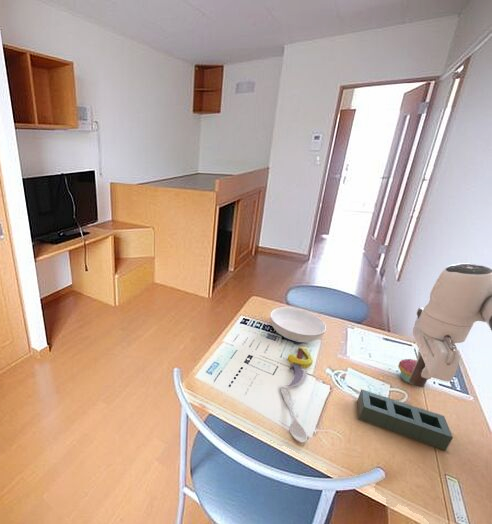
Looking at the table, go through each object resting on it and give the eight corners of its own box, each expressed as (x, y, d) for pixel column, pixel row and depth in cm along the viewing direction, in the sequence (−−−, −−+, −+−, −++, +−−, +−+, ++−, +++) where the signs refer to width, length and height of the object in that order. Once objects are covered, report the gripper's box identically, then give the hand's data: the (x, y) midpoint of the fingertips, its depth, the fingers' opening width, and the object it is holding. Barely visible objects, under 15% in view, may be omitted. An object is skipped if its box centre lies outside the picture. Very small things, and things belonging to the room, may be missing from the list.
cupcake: (398, 367, 109) (409, 340, 105) (429, 381, 103) (442, 352, 99) (391, 378, 104) (403, 350, 100) (423, 393, 98) (437, 364, 94)
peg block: (437, 428, 86) (444, 415, 84) (445, 450, 80) (453, 437, 78) (356, 401, 95) (361, 389, 93) (358, 419, 89) (363, 406, 87)
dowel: (422, 381, 82) (436, 351, 78) (425, 389, 79) (440, 358, 76) (407, 376, 83) (420, 347, 80) (410, 384, 81) (423, 354, 77)
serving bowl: (327, 354, 116) (332, 339, 113) (269, 343, 122) (272, 328, 119) (316, 324, 134) (320, 311, 131) (266, 316, 140) (268, 303, 137)
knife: (304, 397, 96) (313, 354, 115) (306, 391, 95) (315, 348, 114) (278, 386, 100) (291, 346, 119) (279, 380, 99) (292, 341, 118)
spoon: (292, 445, 81) (294, 440, 81) (276, 387, 100) (277, 383, 99) (309, 448, 80) (310, 443, 80) (289, 389, 99) (290, 385, 99)
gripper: (476, 355, 65) (451, 403, 70) (446, 311, 81) (427, 353, 86) (438, 345, 68) (416, 392, 73) (416, 305, 84) (400, 346, 89)
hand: (422, 370), depth 80 cm, fingers closed on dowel, 3 cm apart
